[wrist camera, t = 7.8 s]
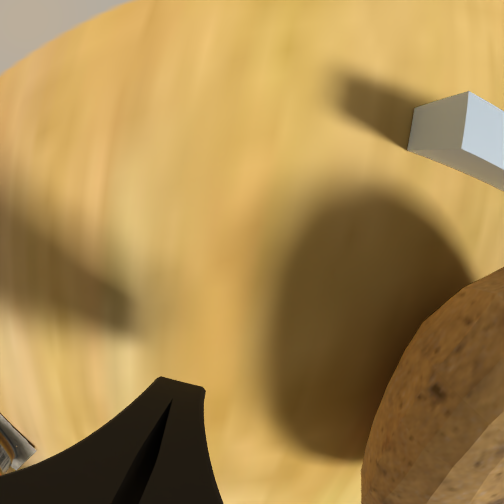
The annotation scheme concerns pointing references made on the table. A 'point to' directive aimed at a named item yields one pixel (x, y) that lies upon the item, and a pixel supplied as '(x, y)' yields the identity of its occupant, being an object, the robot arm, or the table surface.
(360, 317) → the table surface
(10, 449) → the condiment
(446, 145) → the corner walls
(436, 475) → the potato
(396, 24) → the table surface
